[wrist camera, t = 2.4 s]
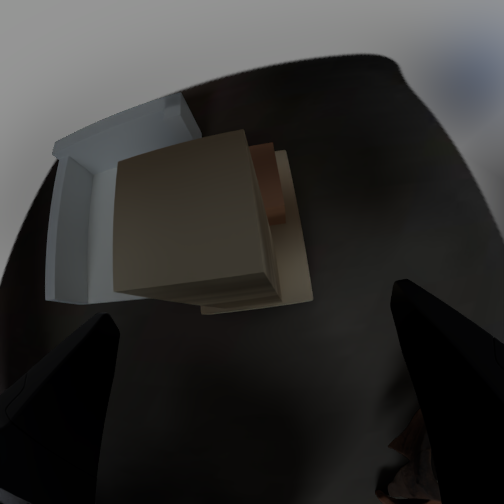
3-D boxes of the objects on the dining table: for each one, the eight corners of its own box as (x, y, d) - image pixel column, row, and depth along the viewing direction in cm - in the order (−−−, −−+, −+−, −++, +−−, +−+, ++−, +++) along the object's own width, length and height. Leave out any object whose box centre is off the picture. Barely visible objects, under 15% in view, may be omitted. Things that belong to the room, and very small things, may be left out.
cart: (310, 301, 17) (362, 262, 4) (214, 314, 17) (58, 302, 5) (286, 170, 19) (271, -3, 6) (202, 184, 20) (108, 43, 7)
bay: (213, 290, 18) (185, 280, 13) (80, 304, 19) (35, 298, 14) (201, 133, 21) (181, 92, 16) (88, 168, 22) (55, 142, 17)
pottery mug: (335, 488, 14) (371, 498, 8) (397, 390, 19) (447, 348, 13) (445, 530, 8) (508, 535, 2) (491, 437, 13) (553, 408, 7)
